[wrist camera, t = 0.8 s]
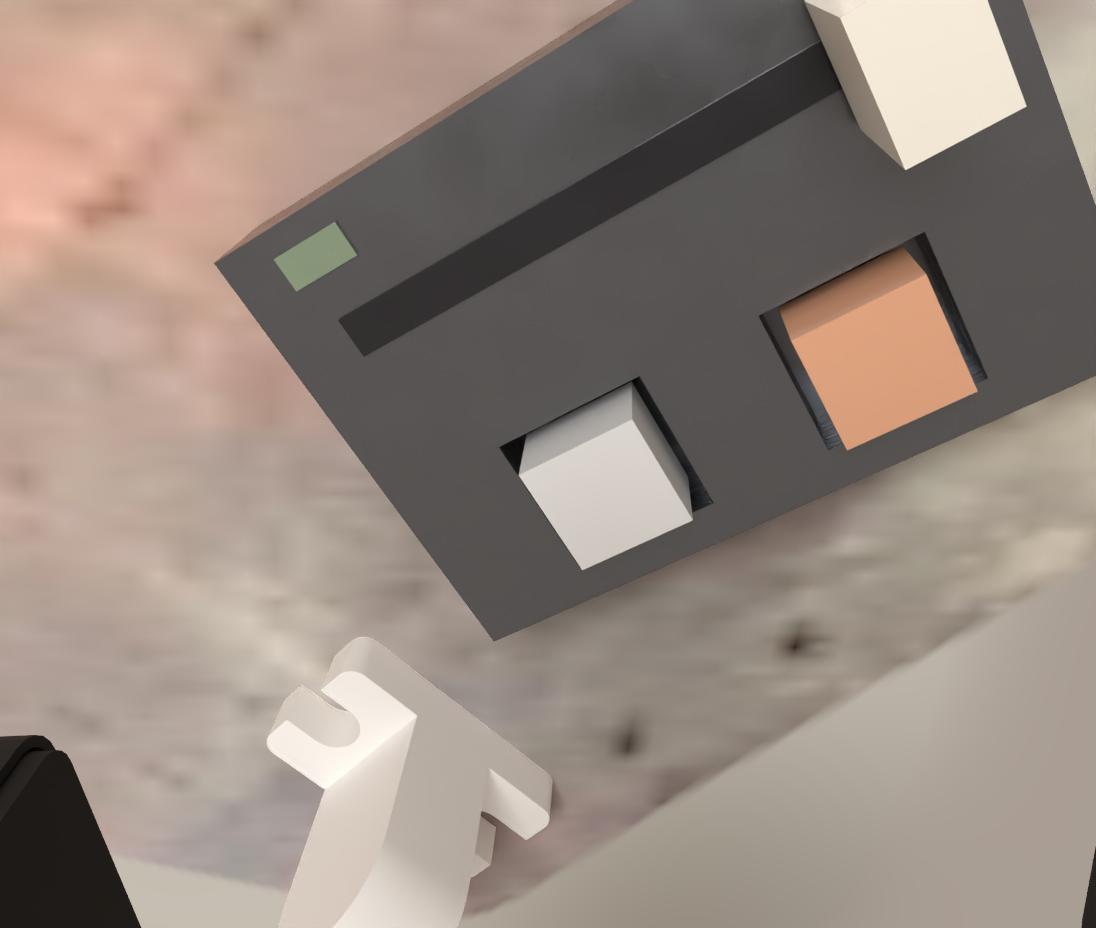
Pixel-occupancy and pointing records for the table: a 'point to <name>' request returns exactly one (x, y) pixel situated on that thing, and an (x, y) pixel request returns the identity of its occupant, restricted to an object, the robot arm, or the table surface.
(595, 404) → the grey key
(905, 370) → the terracotta key
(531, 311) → the control panel
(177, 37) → the table surface
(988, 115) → the cream tall block
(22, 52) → the table surface
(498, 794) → the cable organizer
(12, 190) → the table surface
